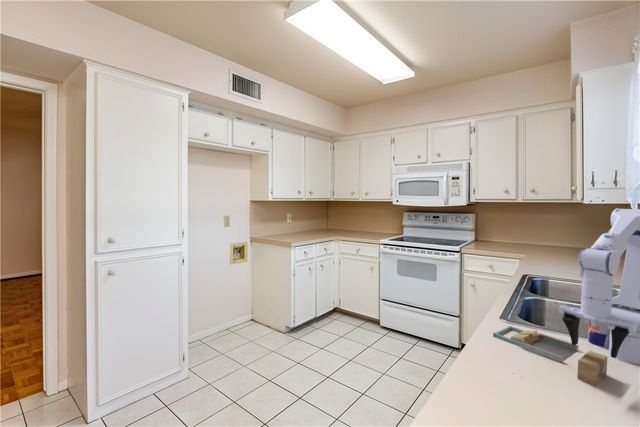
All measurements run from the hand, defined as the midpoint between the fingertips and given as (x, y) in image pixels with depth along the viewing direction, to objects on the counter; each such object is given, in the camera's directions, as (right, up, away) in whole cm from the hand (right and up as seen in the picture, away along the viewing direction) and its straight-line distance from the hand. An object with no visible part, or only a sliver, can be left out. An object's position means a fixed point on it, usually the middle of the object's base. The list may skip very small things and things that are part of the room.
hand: (593, 349), depth 78 cm
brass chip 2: (-1, -6, +21) cm, 22 cm away
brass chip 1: (-6, -7, +19) cm, 21 cm away
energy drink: (+19, -8, +19) cm, 28 cm away
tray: (-5, -7, +23) cm, 25 cm away
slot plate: (0, -8, +15) cm, 17 cm away
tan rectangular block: (0, -9, 0) cm, 9 cm away
